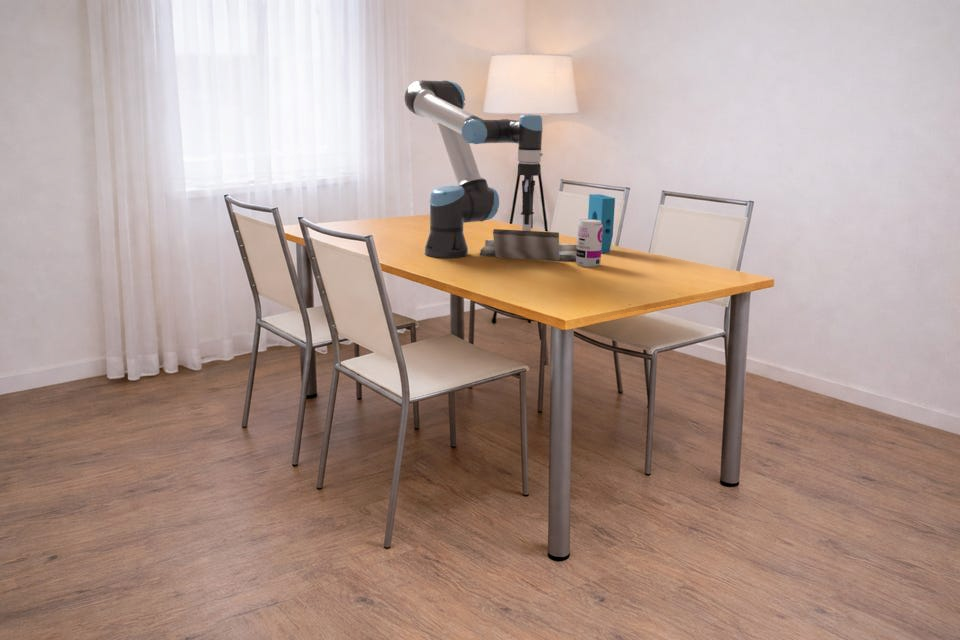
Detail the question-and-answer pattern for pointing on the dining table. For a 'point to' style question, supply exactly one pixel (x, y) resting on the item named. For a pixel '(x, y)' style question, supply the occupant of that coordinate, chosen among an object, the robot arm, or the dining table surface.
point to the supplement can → (589, 243)
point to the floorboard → (565, 251)
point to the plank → (526, 244)
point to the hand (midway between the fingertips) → (526, 233)
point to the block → (603, 217)
